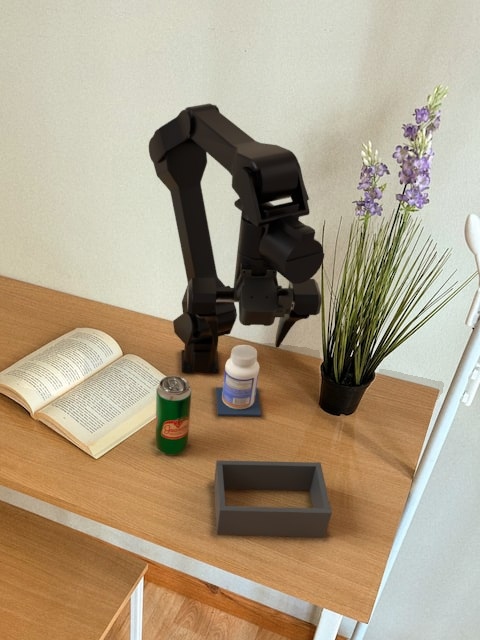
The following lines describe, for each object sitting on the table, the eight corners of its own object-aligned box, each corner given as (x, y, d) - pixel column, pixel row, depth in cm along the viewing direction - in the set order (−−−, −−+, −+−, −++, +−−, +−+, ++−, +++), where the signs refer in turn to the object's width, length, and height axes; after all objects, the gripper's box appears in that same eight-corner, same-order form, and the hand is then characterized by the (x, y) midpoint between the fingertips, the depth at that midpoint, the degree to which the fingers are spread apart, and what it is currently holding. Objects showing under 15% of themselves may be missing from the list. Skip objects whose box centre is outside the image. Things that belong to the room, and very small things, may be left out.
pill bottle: (233, 386, 118) (238, 337, 111) (260, 398, 115) (268, 349, 108) (215, 402, 115) (219, 353, 108) (243, 415, 112) (249, 365, 105)
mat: (215, 389, 118) (216, 387, 117) (257, 390, 117) (257, 388, 117) (217, 416, 113) (218, 413, 113) (261, 416, 113) (261, 414, 112)
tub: (213, 484, 102) (216, 460, 98) (314, 487, 101) (320, 462, 98) (216, 534, 95) (219, 510, 92) (324, 537, 94) (331, 513, 91)
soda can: (161, 460, 106) (162, 398, 97) (151, 439, 109) (152, 377, 101) (192, 453, 107) (196, 391, 98) (181, 432, 110) (185, 371, 102)
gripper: (191, 278, 90) (185, 376, 101) (337, 279, 89) (315, 378, 100) (189, 238, 98) (184, 333, 109) (324, 239, 97) (305, 335, 108)
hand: (246, 345), depth 106 cm, fingers open, 9 cm apart
